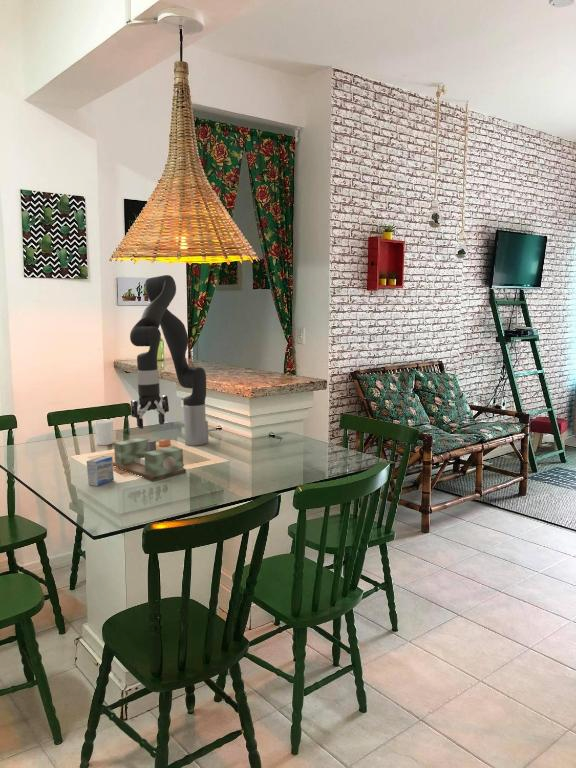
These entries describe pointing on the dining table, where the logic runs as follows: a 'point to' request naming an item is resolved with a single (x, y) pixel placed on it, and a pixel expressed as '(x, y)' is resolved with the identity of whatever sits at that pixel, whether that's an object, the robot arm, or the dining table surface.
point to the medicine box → (100, 470)
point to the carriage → (149, 449)
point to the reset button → (164, 443)
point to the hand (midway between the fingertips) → (151, 426)
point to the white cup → (104, 431)
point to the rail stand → (148, 459)
